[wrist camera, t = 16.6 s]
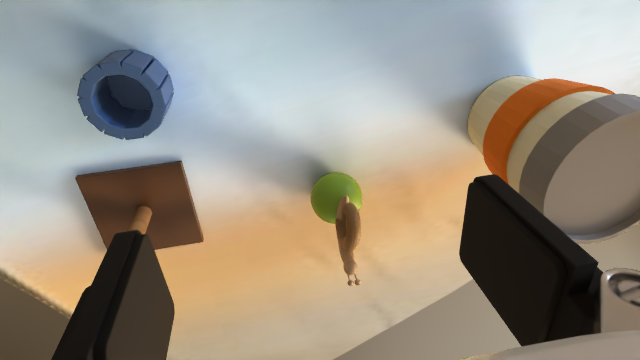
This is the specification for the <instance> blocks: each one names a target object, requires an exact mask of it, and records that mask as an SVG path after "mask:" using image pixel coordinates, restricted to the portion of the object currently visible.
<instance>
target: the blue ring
mask: <svg viewBox="0 0 640 360" xmlns="http://www.w3.org/2000/svg"><path fill="white" fill-rule="evenodd" d="M152 60H153V57H152V56H150V55H147V54H145V53H142V52H140V51H137V50H135V51H134V52H133V50H132V49H131V50H122V51H115V52H114V53H111V54H109V55H108V56H107V57H105V58H104V59H103V60H101V61H100V62H99V63H98V64H96V65H95V66H94V67H93V68H91V69H90V70H89V71H88V72H87V73H85V74H84V75H83V78H81V80H80V85H79V89H78V94H77V96H79V98H78V101H79V104H80V106H81V109H82V111H83V114H84V116H88V117H87V120H88V121H89V122H90V123H92V124H93V125H94V126H95V127H96V128H97V129H98V130H99V131H101V132H102V131H104V130H105V131H104V134H107V135H110V136H113V137H116V138H119V139H124V137H125V139H126V140H129V139H137V138H143V137H144V136H148V135H149V134H151V133H152V132H153V131H154V130H156V129H157V128H158V127H159V126H160V124H161V123H162V121H163V119H164V117H165V115H166V113H167V111H168V109H169V107H170V104H171V100H172V97H173V94H174V93H173V90H174V89H173V85H172V82H171V78H170V75H167V73H168V71H167V70H166V69H165V68H164V67H163V66H162V65H161V64H160V63H159V62H158V60H157V59H154V60H153V61H152ZM120 74H122V75H125V76H127V77H130V78H133V79H135V80H138V81H139V82H140V83H141V84H142V85H143V86H144V87H145V88H146V89H147V91H148V92H149V94H150V97H151V101H152V104H153V107H152V108H150V109H148V110H140V111H135V110H132V109H129V108H126V107H123V106H122V105H121V104H120V103H119V102H117V101H116V100H115V99H114V98H113V97H112V95H111V92H110V89H109V86H108V79H109V76H111V75H120Z"/></svg>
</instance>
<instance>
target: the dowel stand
mask: <svg viewBox="0 0 640 360" xmlns="http://www.w3.org/2000/svg"><path fill="white" fill-rule="evenodd" d="M75 179H76V181H77V183H78V186H79V188H80V190H81V192H82V195H83V197H84V199H85V201H86V203H87V206H88V208H89V210H90V212H91V215H92V217H93V219H94V221H95V224H96V226H97V228H98V230H99V233H100V235H101V237H102V239H103V242H104V244H105V246H106V248H107V250H108V247H109V245H110V243H111V241H112V239H113V237H114V235H115V234H116V233H120V232H126V231H132V230H139V231H140V232H141V233H142V234H148V236H149V238H150V240H151V243H152V246H153V248H154V250H156V249H162V248H168V247H174V246H180V245H187V244H193V243H199V242H203V235H202V232H201V228H200V225H199V221H198V218H197V214H196V211H195V207H194V203H193V200H192V196H191V193H190V189H189V186H188V182H187V179H186V175H185V172H184V168H183V164H182V161H177V162H170V163H163V164H156V165H149V166H141V167H134V168H127V169H120V170H112V171H105V172H98V173H91V174H84V175H77V176H76V178H75Z"/></svg>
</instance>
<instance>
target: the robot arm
mask: <svg viewBox="0 0 640 360" xmlns="http://www.w3.org/2000/svg"><path fill="white" fill-rule="evenodd" d="M459 253H460V259H461V261H462V263H463V265H464V266H465V268H466V269H467V270H468V272H469V273H470V275H471V276H472V277H473V279H474V280H475V282H476V283H477V284H478V286H479V287H480V288H481V290H482V291H483V293H484V294H485V296H486V297H487V298H488V300H489V301H490V302H491V304H492V305H493V307H494V308H495V309H496V311H497V312H498V314H499V315H500V317H501V318H502V319H503V321H504V322H505V324H506V325H507V326H508V328H509V329H510V331H511V332H512V333H513V335H514V336H515V338H516V339H517V340H518V342H519V343H520V345H521V346H522V347H518V348H513V349H508V350H503V351H497V352H493V353H488V354H483V355H478V356H473V357H468V358H463V359H458V360H640V271H637V270H634V269H628V268H613V269H610V270H607V271H605V272H604V273H603V272H602V271H601V270H600V269H599V268H598V267H597V265H598V262H597V261H596V260H595V259H594V258H593V257H591V256H590V255H589V254H588V253H587V252H586V251H585V250H584V249H582V248H581V247H580V246H579V245H578V244H577V243H575V242H574V241H573V240H572V239H571V238H570V237H569V236H567V235H566V234H565V233H564V232H563V231H562V230H560V229H559V228H558V227H557V226H556V225H555V224H553V223H552V222H551V221H550V220H549V219H548V218H547V217H545V216H544V215H543V214H542V213H541V212H540V211H538V210H537V209H536V208H535V207H534V206H533V205H532V204H530V203H529V202H528V201H527V200H526V199H525V198H523V197H522V196H521V195H520V194H519V193H518V192H517V191H515V190H514V189H513V188H512V187H511V186H510V185H508V184H507V183H506V182H505V181H504V180H503V179H501V178H500V177H499V176H498V175H496V174H493V175H486V176H480V177H476V178H475V179H474V181H473V182H472V183H470V184H469V187H468V193H467V200H466V208H465V215H464V222H463V229H462V237H461V244H460V252H459ZM173 319H174V303H173V300H172V297H171V294H170V292H169V289H168V286H167V284H166V281H165V278H164V275H163V273H162V270H161V267H160V265H159V262H158V259H157V257H156V254H155V251H154V248H153V246H152V243H151V240H150V238H149V236H148V234H142V233H141V232H140V231H139V230H132V231H126V232H120V233H116V234H115V235H114V237H113V239H112V241H111V243H110V245H109V247H108V250H107V252H106V254H105V256H104V258H103V261H102V263H101V265H100V267H99V269H98V272H97V274H96V276H95V278H94V280H93V283H92V285H91V286H89V287H87V288H86V289H85V290H84V292H83V293H82V296H81V298H80V300H79V302H78V304H77V306H76V308H75V310H74V313H73V315H72V317H71V319H70V321H69V323H68V325H67V327H66V330H65V332H64V334H63V336H62V338H61V340H60V342H59V344H58V347H57V349H56V351H55V353H54V355H53V357H52V360H166V357H167V351H168V346H169V341H170V335H171V330H172V325H173Z"/></svg>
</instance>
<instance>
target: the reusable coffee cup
mask: <svg viewBox="0 0 640 360" xmlns="http://www.w3.org/2000/svg"><path fill="white" fill-rule="evenodd" d="M468 133H469V137H470V139H471V141H472V142H473V144H474V145H475V146H476V147H477V149H478V150H479V151H480V152H481V153H482V155H483V156H484V160H485V163H486V165H487V167H488V168H489V170H490V171H491V172H492V174H496V175H498V176H499V177H500V178H501V179H503V180H504V181H505V182H506V183H507V184H508V185H510V186H511V187H512V188H513V189H514V190H515V191H517V192H518V193H519V194H520V195H521V196H522V197H523V198H525V199H526V200H527V201H528V202H529V203H530V204H532V205H533V206H534V207H535V208H536V209H537V210H538V211H540V212H541V213H542V214H543V215H544V216H545V217H547V218H548V219H549V220H550V221H551V222H552V223H553V224H555V225H556V226H557V227H558V228H559V229H560V230H562V231H563V232H564V233H565V234H566V235H567V236H569V237H570V238H571V239H572V240H573V241H574V242H575V243H577V244H591V243H598V242H601V241H605V240H608V239H611V238H613V237H616V236H618V235H620V234H623V233H625V232H626V231H628V230H630V229H631V228H633V227H635V226H636V225H638V224H639V223H640V97H638V96H635V95H628V94H615V93H614V92H612V91H610V90H608V89H605V88H603V87H598V86H593V85H588V84H583V83H578V82H573V81H568V80H562V79H544V80H540V79H536V78H531V77H526V76H519V75H517V76H509V77H505V78H502V79H500V80H498V81H496V82H494V83H493V84H491V85H490V86H489V87H487V88H486V89H485V90H484V91H483V92H482V93H481V94H480V96H479V97H478V98H477V99H476V101H475V103H474V104H473V106H472V108H471V111H470V114H469V117H468Z"/></svg>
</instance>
